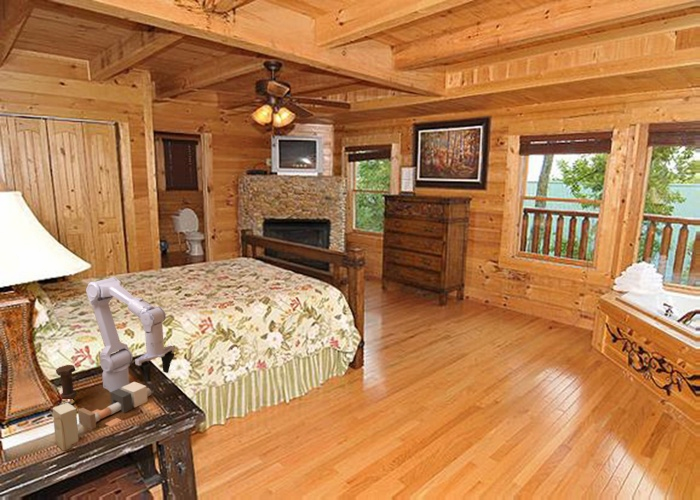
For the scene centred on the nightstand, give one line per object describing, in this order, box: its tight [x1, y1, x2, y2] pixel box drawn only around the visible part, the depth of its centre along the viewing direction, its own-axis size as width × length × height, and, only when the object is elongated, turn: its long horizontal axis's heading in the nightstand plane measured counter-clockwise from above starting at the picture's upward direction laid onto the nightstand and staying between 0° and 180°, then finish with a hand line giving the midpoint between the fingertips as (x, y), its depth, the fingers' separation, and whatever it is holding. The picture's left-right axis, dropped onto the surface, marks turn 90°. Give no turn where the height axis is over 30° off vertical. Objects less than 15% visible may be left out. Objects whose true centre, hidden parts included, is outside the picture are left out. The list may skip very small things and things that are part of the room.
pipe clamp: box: [77, 387, 152, 431], centre depth 144 cm, size 16×26×6 cm, turn 152°
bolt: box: [55, 364, 78, 401], centre depth 147 cm, size 6×5×15 cm
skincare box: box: [52, 402, 80, 452], centre depth 126 cm, size 6×4×12 cm
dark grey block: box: [109, 389, 133, 414], centre depth 145 cm, size 7×3×6 cm, turn 62°
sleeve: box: [121, 381, 148, 409], centre depth 149 cm, size 7×5×6 cm
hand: (156, 376), depth 151 cm, fingers open, 7 cm apart
